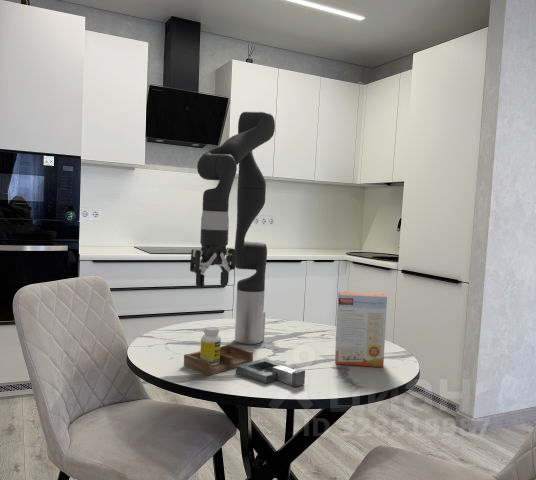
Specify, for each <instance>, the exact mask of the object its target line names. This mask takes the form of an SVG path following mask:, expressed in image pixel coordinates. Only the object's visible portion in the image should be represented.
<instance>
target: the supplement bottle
mask: <svg viewBox="0 0 536 480" xmlns="http://www.w3.org/2000/svg"><path fill="white" fill-rule="evenodd" d="M219 332H220V328H219V327H216V326H206V327H204V328H203V334H204V335H202V336H201V339H200V350H199V351H200V359H202V360H205V361H207V362H210V363H211V366H215V365H218V364H219V362H220V347H221V346H222V345H221V341H222V340H221V339H222V338H221V336H220V335H219Z"/></svg>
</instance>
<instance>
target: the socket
mask: <svg viewBox="0 0 536 480" xmlns="http://www.w3.org/2000/svg"><path fill="white" fill-rule="evenodd" d="M278 365H282V366H285V367H288V368H291V369H294V370H295V367H293V366H290V365H286V364H283V363H280V362H277V361H273V360H270V359H267V358H260V359H257V360H253V361H252V362H249V363H245V364H241V365H238V366H236V368H235V374H237V375H240V376H242V377H245V378H248V379H251V380H254V381H255V382H256V381H257V382H258V383H262V384H264V385H268V384H270V383H274V382H276V380H275V373H272V369H273V367H275V366H278ZM263 369H265V370H268V371H267V372H264V371H261V370H263Z"/></svg>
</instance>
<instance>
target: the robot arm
mask: <svg viewBox="0 0 536 480" xmlns="http://www.w3.org/2000/svg"><path fill="white" fill-rule="evenodd" d="M275 131H276V122H275V118H274V116H273V114H272V113H270V112H268V111H267V112H266V111H242V112H241V113H240V115H239V118H238V123H237V133H236V134H235V135H232V136H230V137H229V138H228V139H226V140H225V141H224V142H223V143H222V144H221V145H220V146H218V147H214V148H212V149H211V150H208V151H206V152H204V153H203V154H202V155H201V156H200V158H199V159H198V161H197V165H196V169H197V173H198V175H199V177H200V178H202V179H204V180H206V181H218V183H217V184H216V187H212V188H208V189H205V190H204V191H203V194H202V211H201V219H200V220H201V221H200V245H201V249H191V251H190V252H191V254H190V264H189V265H190V266H189V271H190V272H191V273H194V274H195V286H196V287H197V288H198V289H204V288H205V272H206V271H207V269H209V268H210V267H211V266H215V265H217V266H218V267H219V268H220V270H221V272H220V280H219V281H220V285H221V286H222V287H223V286H226V287H227V286H228V284H229V278H230V277H229V276H230V272H231V271H232V270H235V269H237V270H238V269H239V270H251V271H255V273H254V274H252V275H250V276H249V277H245V278H243V279H239V280H238V281H237V282H236V283H237V284H236V302H235V303H236V307H235V309H236V310H235V324H234V325H235V327H234V328H235V330H234V341H235V342H237V343H240V344H247V345H255V344H260V343H263V341H265V332H266V331H265V329H266V312H265V311H264V307H265V291H266V290H265V287H266V286H265V285H266V268H267V259H268V247H267V244H266V243H265V242H260V241H245V238H246V236H247V233H248V231H249V228H251V225H252V224H253V222H254V221H255V219H256V218H257V217H258V215H259V214H260V212H261V211H262V209H263V208H264V206H265V205H266V204H265V203H266V189H267V181H266V179H265V176H264V175H263V173H262V171H261V169H260V167H259V166H258V164H257V162H256V159H255V157H254V154H253V153H254V152H253V151H254V150H255V149H256V148H258V147H261V146H262V145H263V144H265V143H267V142H268V141H270V140H271V139H272V138H273V136H274V134H275ZM237 166H238V168H237ZM237 170H238V175H237ZM236 175H237V177H238V178H237V190H236V191H237V195H236V200H237V201H236V202H237V203H236V229H235V240H234V248H233V247H227V246H228V245H229V226H230V225H229V222H230V221H229V220H230V218H229V205H230V204H229V203H230V202H229V201H230V195H231V190H232V187H233V183H234V181H235V178H236Z"/></svg>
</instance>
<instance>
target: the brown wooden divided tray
mask: <svg viewBox="0 0 536 480" xmlns="http://www.w3.org/2000/svg"><path fill="white" fill-rule="evenodd" d="M200 351H201V350H199V351H195V352H190V353H186V354H183V367H185V368H187V369H190V370H193V371H195V372H197V373H199V374H202V375H205V376H211V375H213V374H219V373H222V372H225V371H228V370H232V369H236V366H238V365H241V364H245V363H249V362H252V361H254V360H253V359H254V351H251V350H248V349H244V348H241V347H238V346H235V345H232V344H226V345H220V362H219V364H218V365H215V366H211V363H210V362H207V361H205V360H202V359H200Z"/></svg>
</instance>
